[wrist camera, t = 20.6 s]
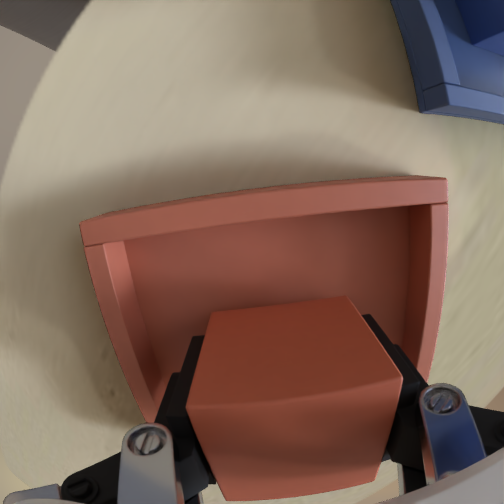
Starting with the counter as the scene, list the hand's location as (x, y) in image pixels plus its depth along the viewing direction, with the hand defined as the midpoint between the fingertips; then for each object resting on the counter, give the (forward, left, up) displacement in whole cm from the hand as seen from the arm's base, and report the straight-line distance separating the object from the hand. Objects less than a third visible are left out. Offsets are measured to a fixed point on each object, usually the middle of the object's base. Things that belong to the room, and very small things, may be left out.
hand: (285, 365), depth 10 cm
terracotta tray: (0, 0, -2) cm, 2 cm away
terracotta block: (0, 0, 0) cm, 0 cm away
